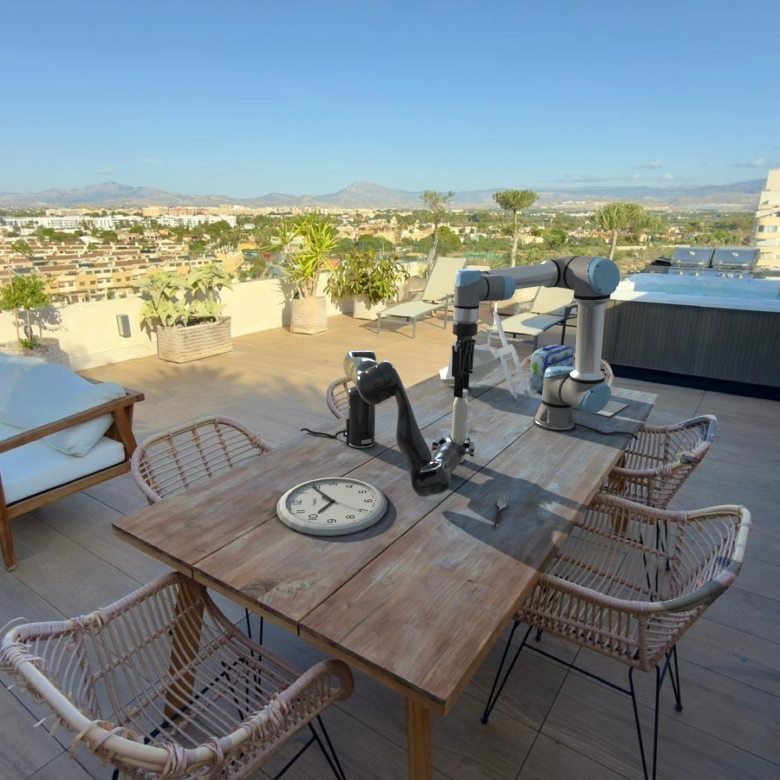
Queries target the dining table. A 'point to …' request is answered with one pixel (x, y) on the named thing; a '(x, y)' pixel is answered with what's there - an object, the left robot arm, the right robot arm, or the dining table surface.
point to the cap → (465, 392)
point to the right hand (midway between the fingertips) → (461, 394)
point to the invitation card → (611, 408)
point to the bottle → (459, 421)
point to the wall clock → (331, 506)
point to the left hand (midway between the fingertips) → (460, 438)
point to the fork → (500, 505)
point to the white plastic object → (490, 362)
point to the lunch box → (548, 363)
